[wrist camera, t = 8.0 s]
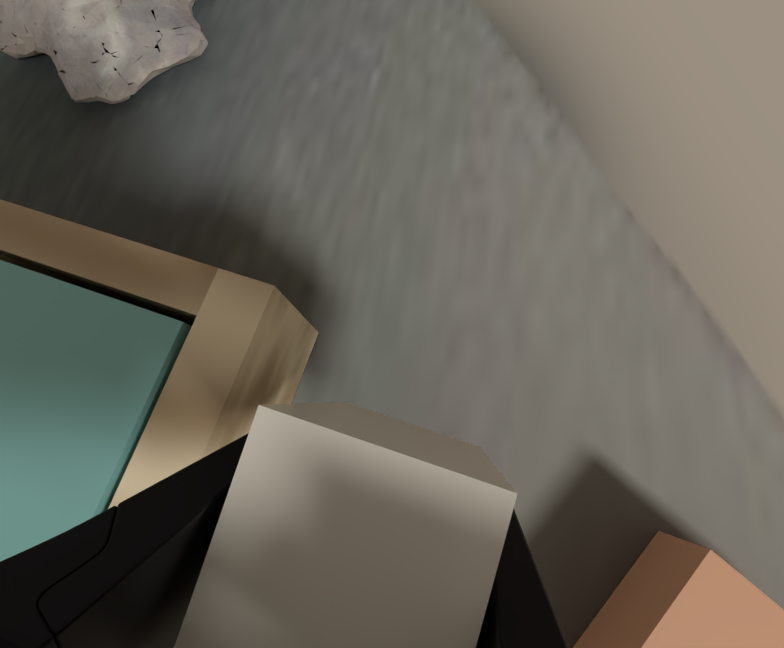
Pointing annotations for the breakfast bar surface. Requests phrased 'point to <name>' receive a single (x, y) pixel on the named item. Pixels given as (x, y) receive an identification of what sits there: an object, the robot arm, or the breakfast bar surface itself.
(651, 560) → the plinth
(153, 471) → the trapdoor box
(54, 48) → the stone
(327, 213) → the breakfast bar surface
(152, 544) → the robot arm
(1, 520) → the trapdoor
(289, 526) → the stone pillar
